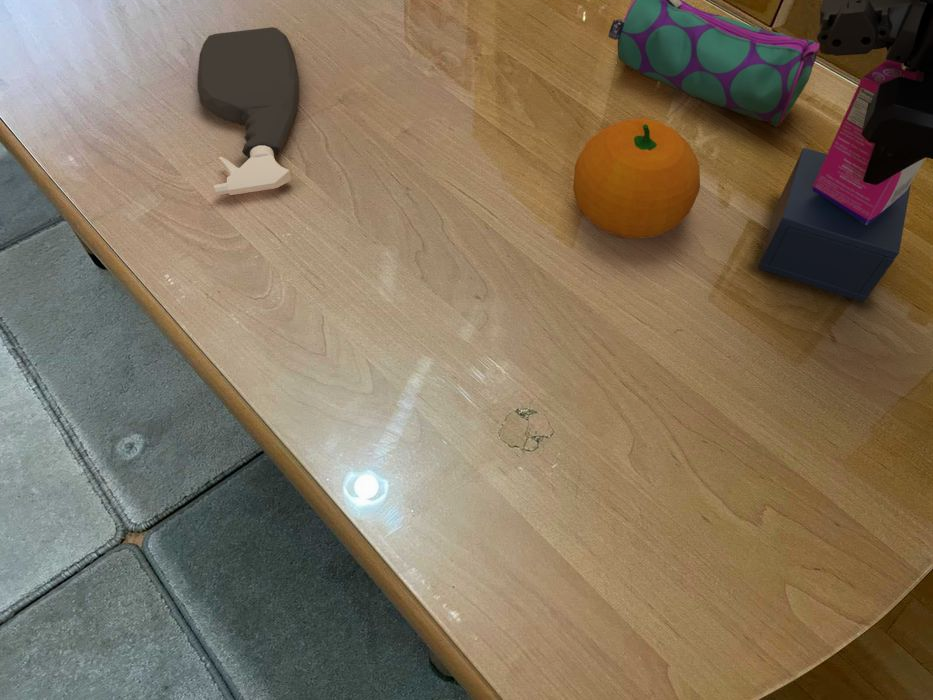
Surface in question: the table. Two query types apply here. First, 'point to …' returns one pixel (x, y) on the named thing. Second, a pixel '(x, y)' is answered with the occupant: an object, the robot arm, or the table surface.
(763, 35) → the pencil case
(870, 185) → the supplement box
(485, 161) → the table surface
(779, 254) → the dark blue square block
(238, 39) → the spray bottle
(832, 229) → the lid
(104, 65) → the table surface
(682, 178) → the fruit
